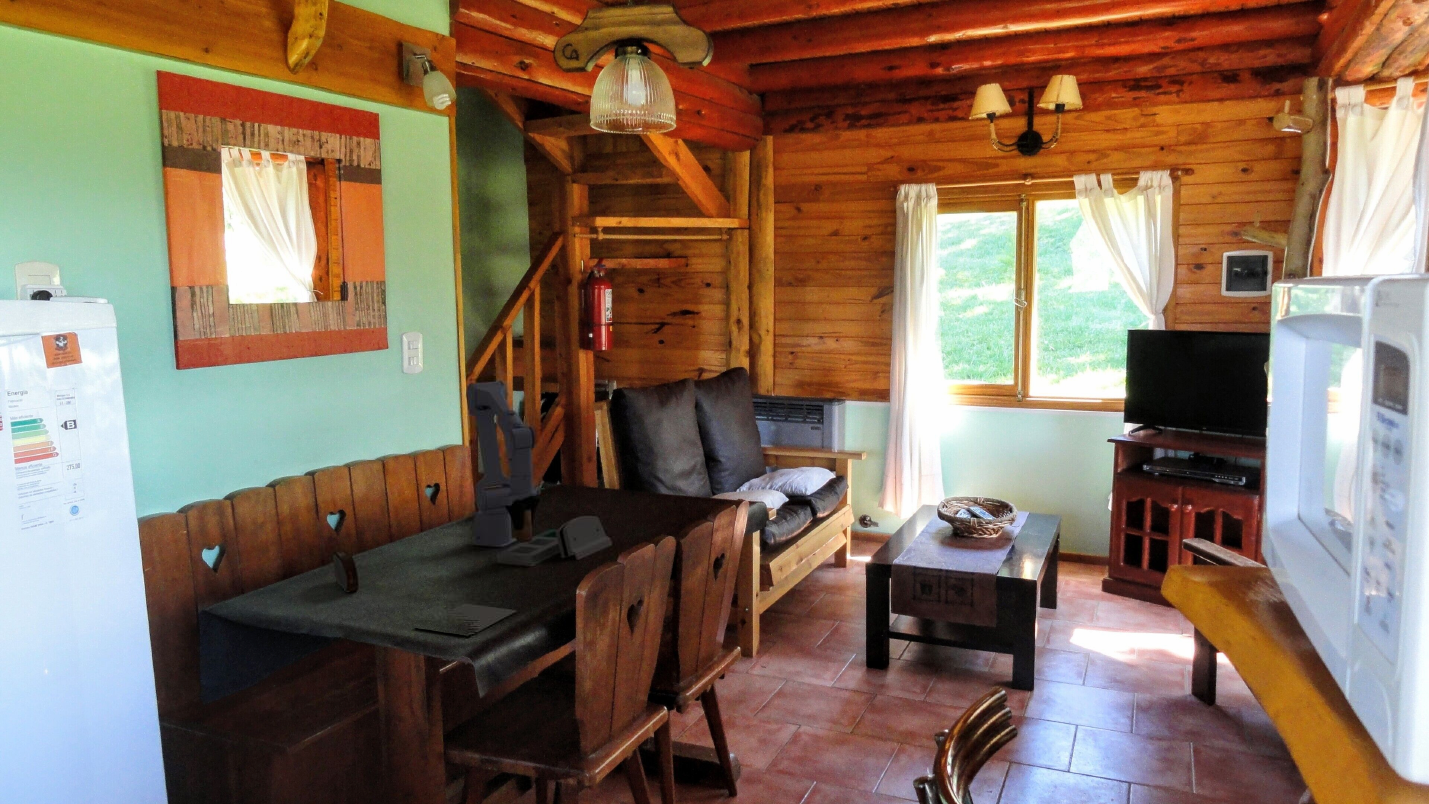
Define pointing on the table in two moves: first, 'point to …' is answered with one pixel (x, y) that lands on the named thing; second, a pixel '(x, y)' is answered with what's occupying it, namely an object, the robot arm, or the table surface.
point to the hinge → (582, 537)
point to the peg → (525, 529)
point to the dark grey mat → (480, 615)
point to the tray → (531, 550)
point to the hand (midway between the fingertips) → (523, 527)
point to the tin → (345, 570)
